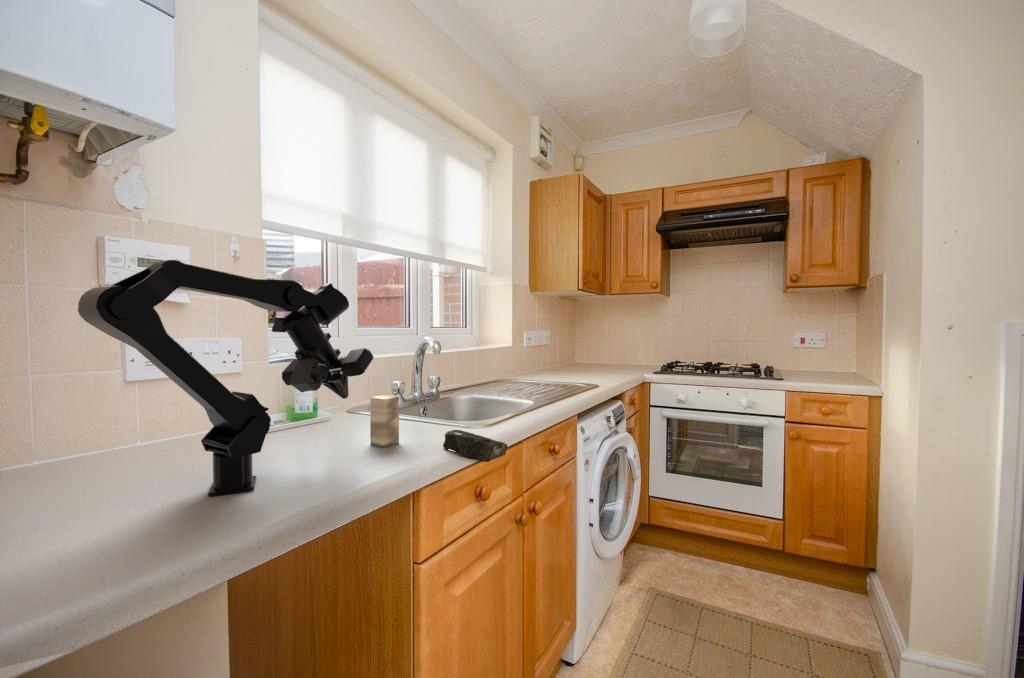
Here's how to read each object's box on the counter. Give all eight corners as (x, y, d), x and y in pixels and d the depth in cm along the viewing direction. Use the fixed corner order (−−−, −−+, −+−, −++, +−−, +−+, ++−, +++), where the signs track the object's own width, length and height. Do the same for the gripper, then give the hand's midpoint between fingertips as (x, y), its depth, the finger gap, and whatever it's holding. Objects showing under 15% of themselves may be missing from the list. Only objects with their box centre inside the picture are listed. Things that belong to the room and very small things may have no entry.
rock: (491, 464, 92) (491, 444, 92) (434, 451, 101) (435, 432, 100) (513, 455, 99) (513, 436, 98) (458, 444, 107) (458, 426, 107)
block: (384, 447, 102) (384, 399, 102) (370, 444, 105) (370, 397, 104) (398, 443, 106) (398, 396, 106) (385, 440, 109) (385, 394, 108)
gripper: (246, 370, 85) (290, 428, 93) (330, 356, 80) (368, 420, 88) (279, 336, 94) (316, 392, 102) (356, 322, 89) (389, 382, 97)
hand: (346, 397), depth 97 cm, fingers closed
